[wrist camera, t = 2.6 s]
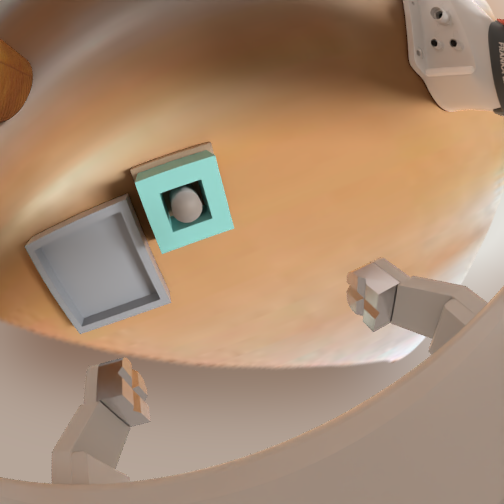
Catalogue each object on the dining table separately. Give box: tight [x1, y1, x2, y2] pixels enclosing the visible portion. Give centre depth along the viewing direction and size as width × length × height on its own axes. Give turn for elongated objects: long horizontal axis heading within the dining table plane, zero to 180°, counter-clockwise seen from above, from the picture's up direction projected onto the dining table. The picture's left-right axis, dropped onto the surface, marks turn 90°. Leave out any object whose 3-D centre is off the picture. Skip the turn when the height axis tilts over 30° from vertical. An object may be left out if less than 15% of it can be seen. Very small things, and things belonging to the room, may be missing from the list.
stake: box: [130, 142, 214, 241], centre depth 22 cm, size 7×7×5 cm
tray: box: [25, 193, 171, 334], centre depth 23 cm, size 11×11×2 cm
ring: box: [135, 150, 234, 254], centre depth 21 cm, size 6×6×4 cm
